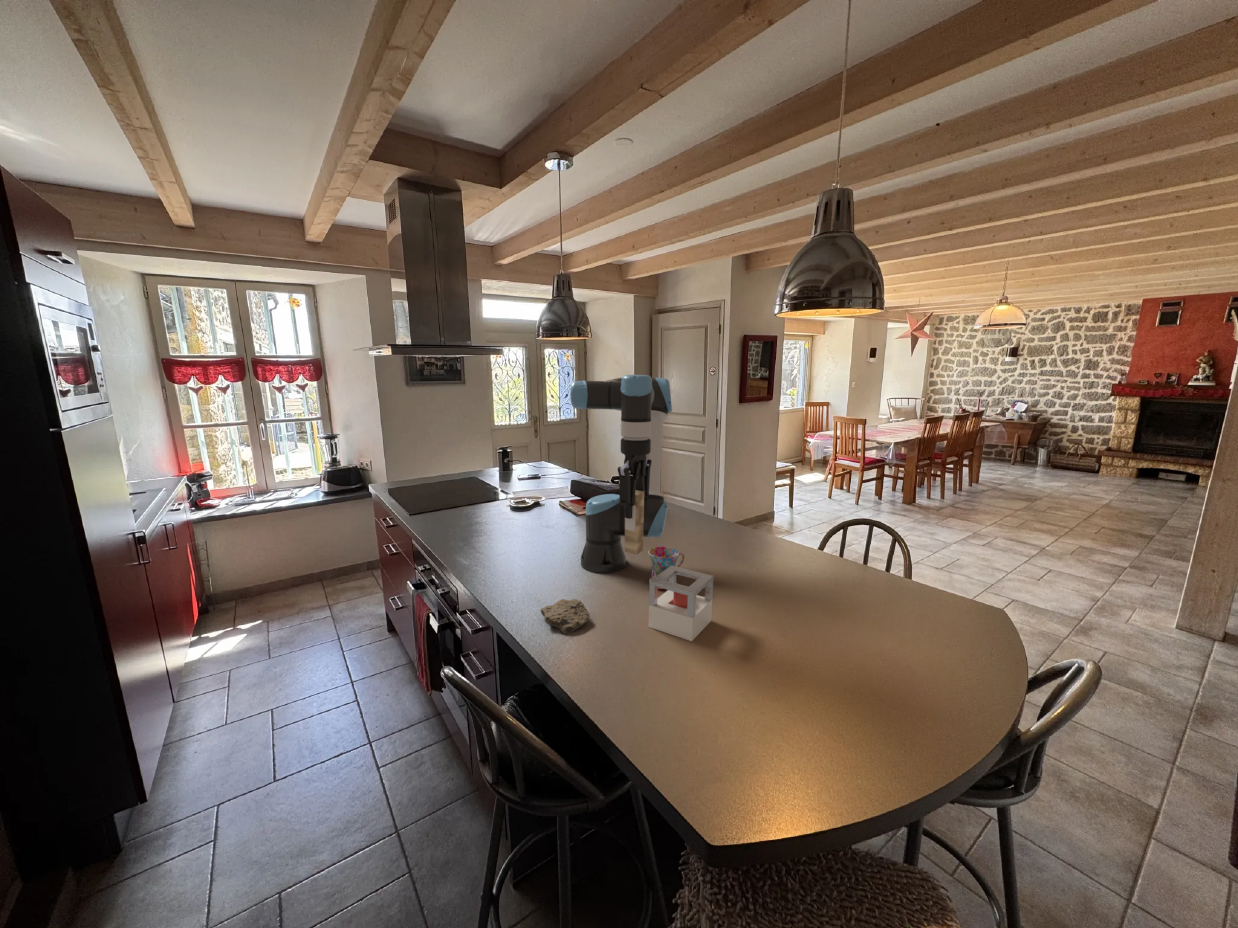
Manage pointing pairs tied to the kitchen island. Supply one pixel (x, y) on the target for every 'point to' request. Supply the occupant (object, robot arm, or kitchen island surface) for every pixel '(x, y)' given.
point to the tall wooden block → (636, 537)
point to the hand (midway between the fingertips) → (634, 527)
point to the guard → (682, 586)
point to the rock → (566, 615)
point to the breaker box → (679, 617)
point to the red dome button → (680, 600)
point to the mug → (663, 560)
